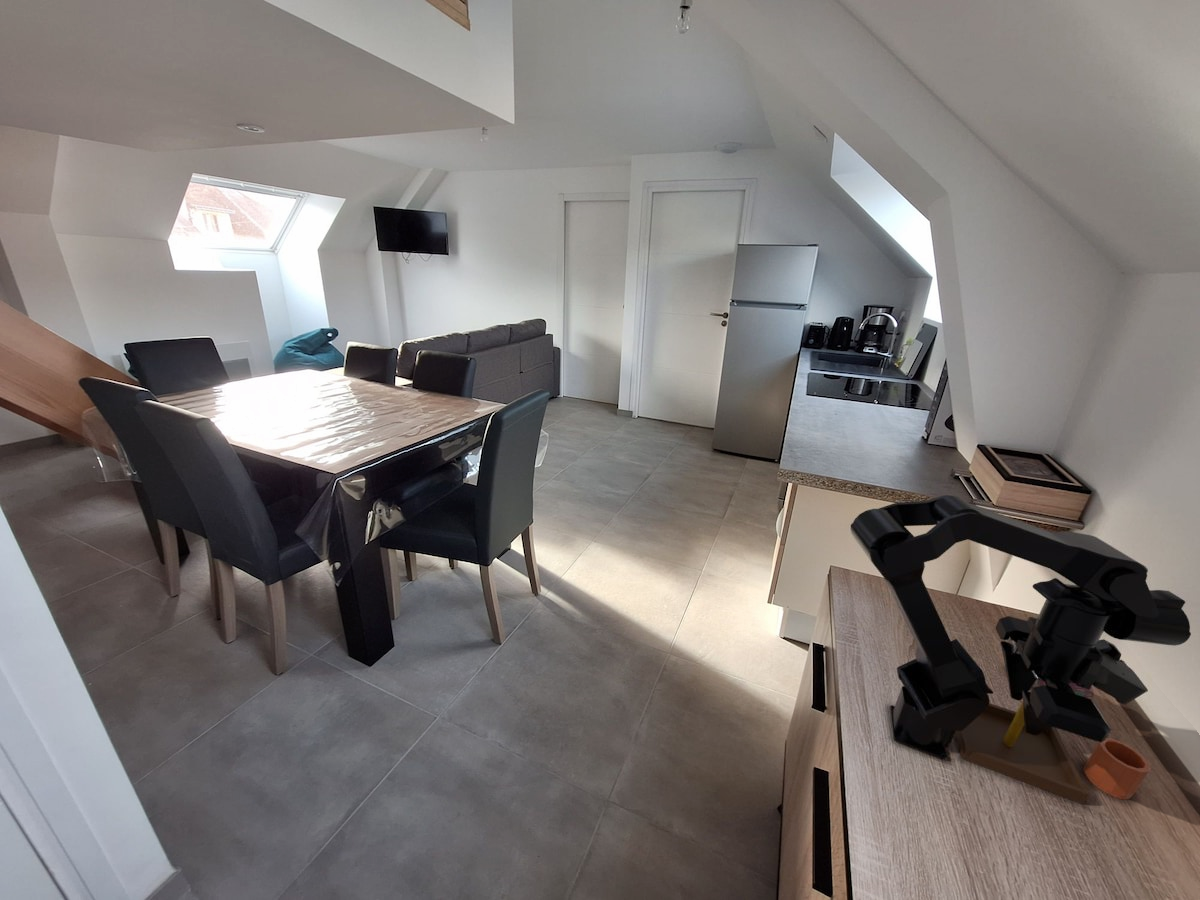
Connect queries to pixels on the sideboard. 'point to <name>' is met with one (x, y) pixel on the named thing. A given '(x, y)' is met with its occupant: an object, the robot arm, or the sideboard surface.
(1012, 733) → the pencil
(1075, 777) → the tray
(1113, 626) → the robot arm
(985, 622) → the sideboard surface
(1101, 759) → the pen pot
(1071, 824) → the sideboard surface
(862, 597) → the sideboard surface
